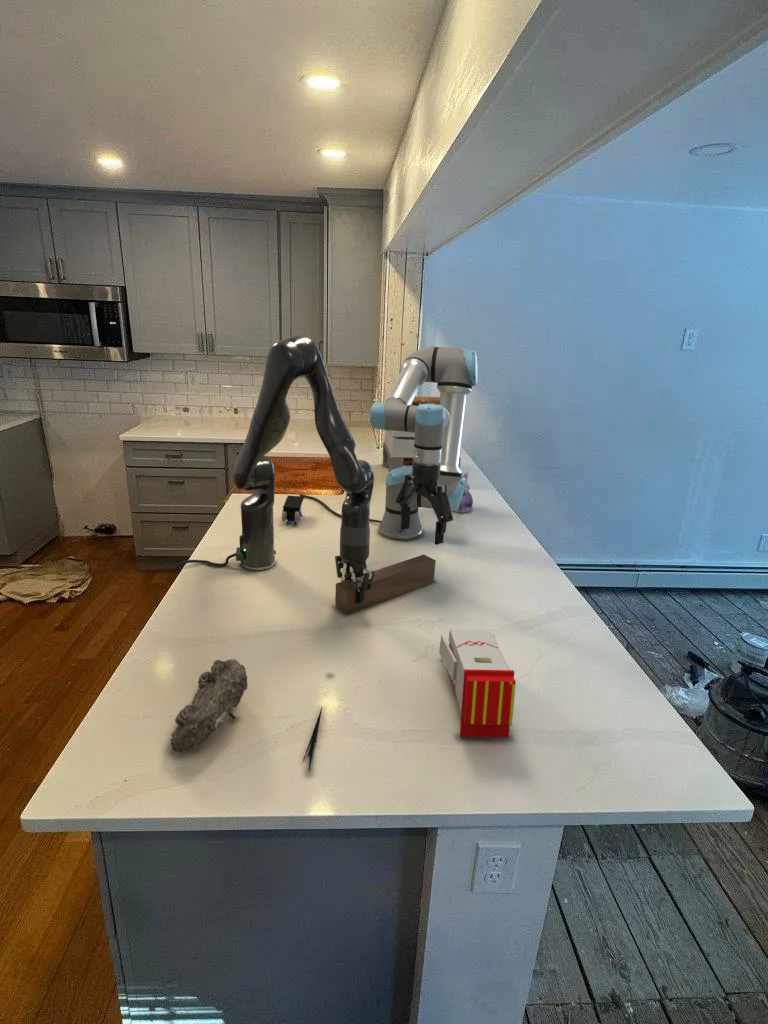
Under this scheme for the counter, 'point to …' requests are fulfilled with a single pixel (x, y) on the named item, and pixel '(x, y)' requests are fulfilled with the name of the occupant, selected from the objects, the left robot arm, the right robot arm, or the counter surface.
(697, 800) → the counter surface
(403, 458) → the grey slatted crate
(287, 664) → the counter surface
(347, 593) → the walnut beam
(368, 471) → the left robot arm
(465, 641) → the toy
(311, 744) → the feather
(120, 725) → the counter surface
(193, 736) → the fossil
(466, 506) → the figurine
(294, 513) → the figurine character
